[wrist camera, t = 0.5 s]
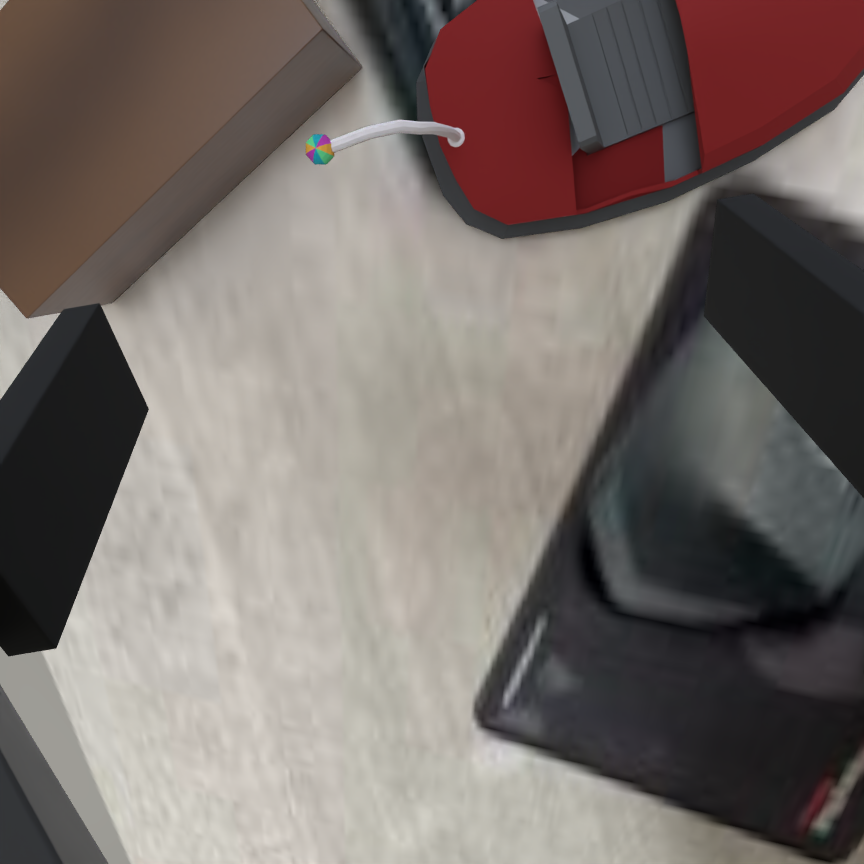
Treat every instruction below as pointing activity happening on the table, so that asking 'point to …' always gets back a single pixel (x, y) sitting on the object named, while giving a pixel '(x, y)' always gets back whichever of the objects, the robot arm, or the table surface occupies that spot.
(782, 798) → the table surface
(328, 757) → the table surface
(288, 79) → the walnut block
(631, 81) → the bumper car
